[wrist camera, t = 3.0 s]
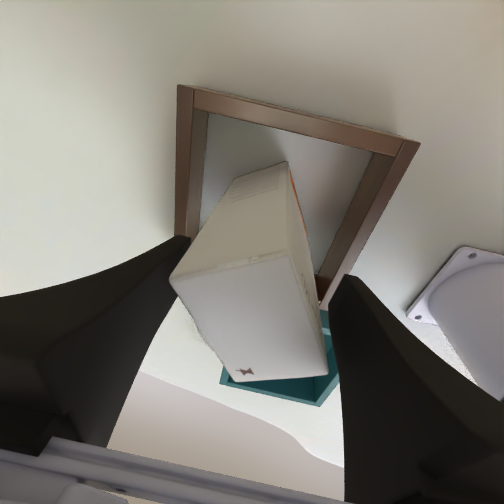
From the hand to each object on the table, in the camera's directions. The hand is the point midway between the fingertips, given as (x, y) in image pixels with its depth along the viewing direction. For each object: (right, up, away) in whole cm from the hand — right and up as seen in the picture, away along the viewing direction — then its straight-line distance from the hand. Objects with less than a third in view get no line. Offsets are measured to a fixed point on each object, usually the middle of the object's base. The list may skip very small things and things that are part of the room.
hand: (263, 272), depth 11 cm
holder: (+1, +5, +7) cm, 9 cm away
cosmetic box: (+1, +5, +7) cm, 9 cm away
